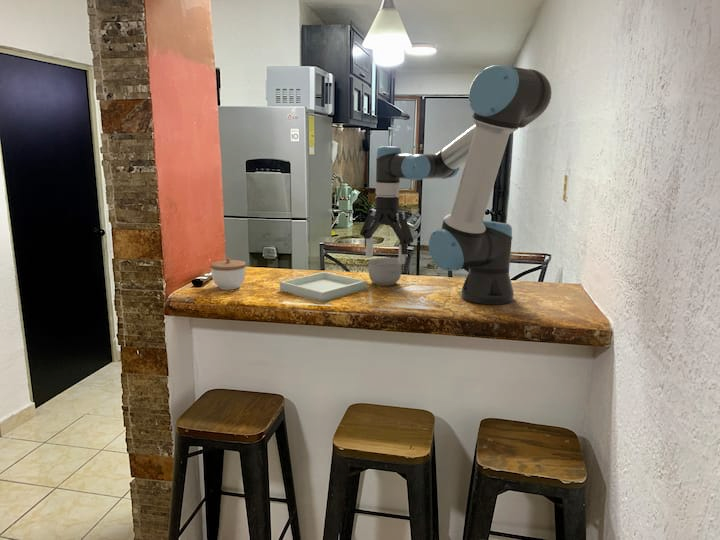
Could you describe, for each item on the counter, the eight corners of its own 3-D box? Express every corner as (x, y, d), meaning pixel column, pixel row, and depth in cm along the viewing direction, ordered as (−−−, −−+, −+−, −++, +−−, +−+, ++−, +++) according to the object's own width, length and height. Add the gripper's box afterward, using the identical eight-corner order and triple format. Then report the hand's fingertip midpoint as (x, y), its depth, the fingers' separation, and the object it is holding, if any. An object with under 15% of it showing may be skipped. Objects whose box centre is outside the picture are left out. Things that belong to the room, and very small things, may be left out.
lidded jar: (241, 292, 164) (240, 262, 162) (207, 291, 164) (205, 261, 162) (250, 283, 174) (249, 255, 172) (217, 282, 175) (216, 254, 173)
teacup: (395, 289, 169) (396, 264, 168) (363, 286, 173) (363, 261, 171) (406, 279, 182) (406, 256, 181) (375, 276, 186) (376, 254, 184)
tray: (366, 289, 168) (366, 280, 168) (322, 302, 154) (322, 292, 153) (324, 279, 180) (324, 271, 180) (279, 290, 166) (279, 281, 165)
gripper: (426, 198, 166) (422, 265, 171) (365, 192, 182) (363, 253, 187) (412, 200, 161) (409, 268, 166) (350, 193, 176) (349, 256, 181)
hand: (385, 260), depth 176 cm, fingers open, 13 cm apart
